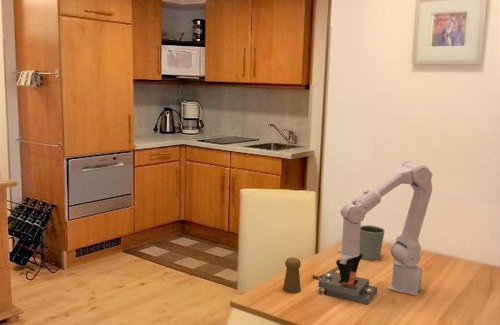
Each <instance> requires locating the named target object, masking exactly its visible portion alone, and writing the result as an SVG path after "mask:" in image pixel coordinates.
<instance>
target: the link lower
mask: <svg viewBox="0 0 500 325" xmlns="http://www.w3.org/2000/svg"><path fill="white" fill-rule="evenodd" d="M325 292H326V295H327V296H330V297H334V298H337V299H343V300H345V301H349V302H354V303H359V304H362V305H369V303H371V301H372V300H373V299H374V298H375V296H376V295H377V294H378V286H374V285H370V284H369V286H368V287H367V288H365V290H364V291H363V293H362V294H361V295H360V296H359V297H358V296H354V295H349V294H345V293H341V292H337V291H333V290H329V289H327V290H326V291H325Z"/></svg>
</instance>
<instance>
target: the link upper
mask: <svg viewBox="0 0 500 325" xmlns="http://www.w3.org/2000/svg"><path fill="white" fill-rule="evenodd" d="M329 271H330V270H329ZM325 273H326V272H325ZM369 285H370V279H368V278H365V277H360V276H359V277H358V276H356V278H354V286H351V285H347V284H342V281H341V276H340V272H336V271H335V272H332V271H330V272H329V273H326V274H325V276H324V277H323V278H322V279H320V281H319V280H318V285H317V287H318V288H319V289H318V292H319V293H320V294H324V293H325V292H327V289H329V290H333V291H337V292H341V293H345V294H349V295H354V296H358V297H359V296H360V295H361V294H362V293H363V291H364V290H365V288H367V287H368V286H369Z"/></svg>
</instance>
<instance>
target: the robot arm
mask: <svg viewBox="0 0 500 325" xmlns="http://www.w3.org/2000/svg"><path fill="white" fill-rule="evenodd" d="M432 177H433V173H432V171H431V170H430V168H429V167H428V166H426V165H423V164H420V163H416V162H413V161H411V160H406V161H404V162H402V163H401V165H398V166H397V167H396V169H395V170H394V172H392V173H391V174H390V175H388V177H386V179H384V180H383V181H382V182H380V184H379V185H377V186H376V187H375V188H368V189H365V190H362V194H361V195H359V196H358V197H356V198H353V199H352V200H351V201H352V202H347V203H345V204H343V207H342V209H340V215H341V217H342V218H343V220H342V221H343V223H342V236H341V238H342V239H341V248H338V249H337V253H339V254H340V257H339V259H336V261H335V265H337V266H336V267H338V268H339V270H338V271H339V273H340V276H341V281H342V282H346V283H348V281H349V277H350V272H351V271H354V272H356V273H357V270H358V267H359V265H360V262H361V260H362V259H361V258H362V257H363V254H360V252H359V250H360V247H359V244H360V229H361V226H362V222H363V221H364V219H365V217H366V214H368V213H369V212H370V211H372V209H373V208H375V207H377V206H378V205H379V204H380V203H381V201H382V197H383V196H385V195H386V194H388V193H389V192H391V191H393V190H394V189H395V188H397V187H398V186H400V185H402V184H403V185H410V186H411V189H412V190H413V195H412V198H411V201H410V205H409V208H408V212H407V215H406V219H405V222H404V226H403V229H402V231H401V232H402V233H401V234H399V236H397V237H396V238H395V242H394V243H393V244H392V245H391V248H390V254H391V256H392V257H393V267H392V280H391V284H390V285H389V286H388V290H389V291H394V292H398V293H402V294H407V295H412V296H417V295H418V294H419V292H420V290H421V289H422V276H423V268H422V267H421V266H419V265H418V264H419V263H420V261H421V250H422V247H421V244H420V242H419V238H420V233H421V231H422V227H423V224H424V220H425V217H426V215H427V214H426V213H427V210H428V206H429V202H430V199H431V197H432V196H431V195H432V192H433V184H432Z"/></svg>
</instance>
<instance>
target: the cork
mask: <svg viewBox="0 0 500 325" xmlns="http://www.w3.org/2000/svg"><path fill="white" fill-rule="evenodd" d="M284 264H285V268H286V271H285V277H284V280H283V281H284V282H283V287H282V290H283V291H284V292H285V293H289V294H297V293H300V292H301V291H302V290H301V279H300V278H301V277H300V268H301V265H302V264H301V260H300V259H299V258H297V257H288V258H286V260H285V262H284Z"/></svg>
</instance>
